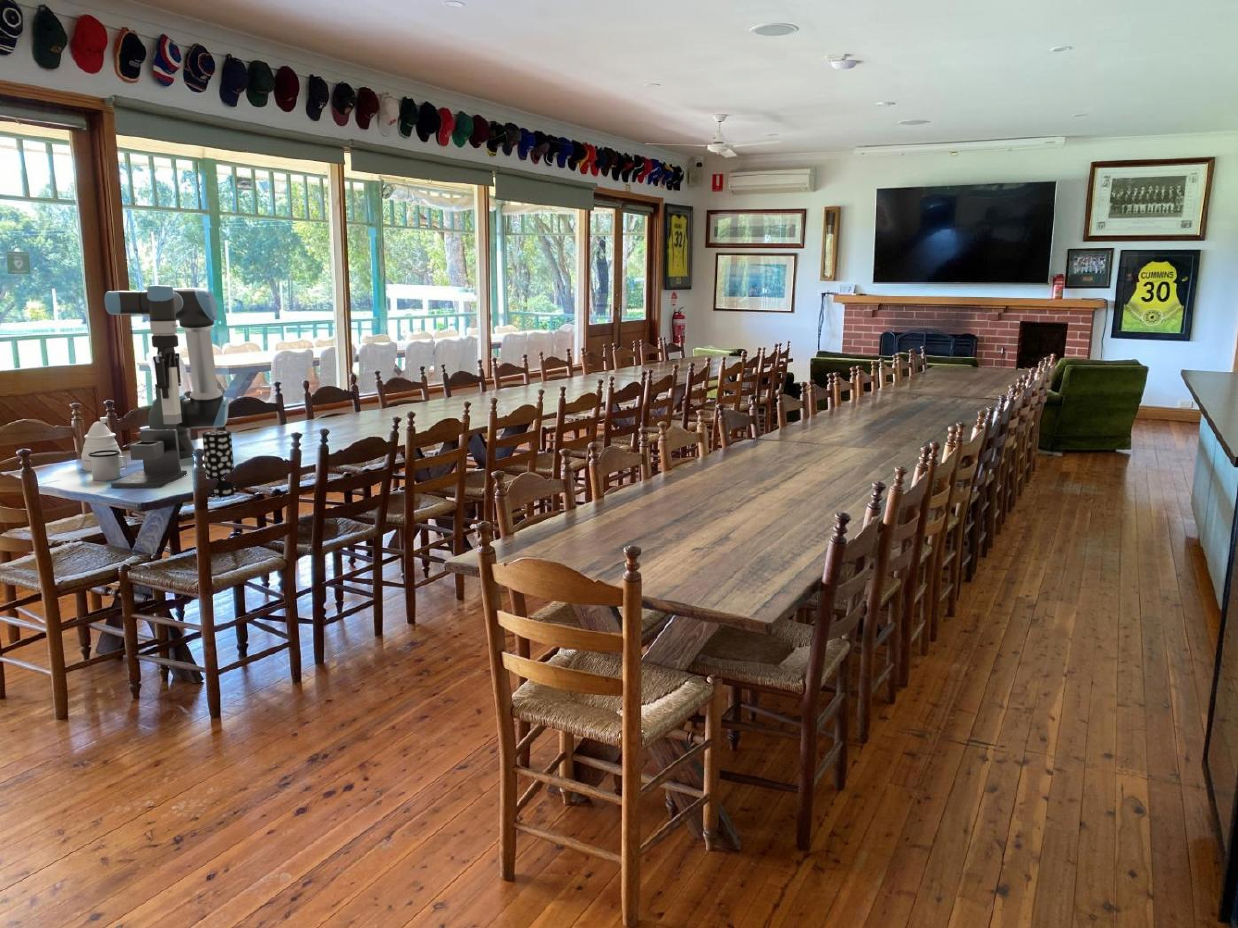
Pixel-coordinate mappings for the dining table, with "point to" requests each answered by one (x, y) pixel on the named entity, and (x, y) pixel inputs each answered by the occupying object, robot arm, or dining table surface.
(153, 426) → the bottle
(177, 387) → the tall white block
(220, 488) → the black dotted tall container
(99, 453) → the mug
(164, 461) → the coffee machine
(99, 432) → the honey pot
